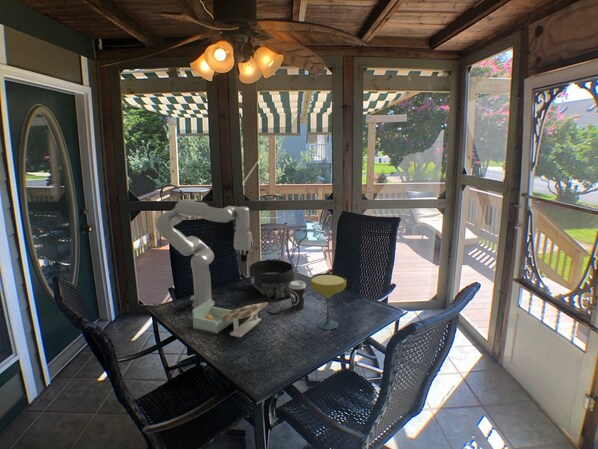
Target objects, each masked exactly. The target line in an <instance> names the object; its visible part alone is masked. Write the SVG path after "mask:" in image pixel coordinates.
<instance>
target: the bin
mask: <svg viewBox="0 0 598 449" xmlns="http://www.w3.org/2000/svg"><path fill="white" fill-rule="evenodd" d="M212 300H213V299H210V300H208V301H206V302H205V303H203V304H201V305H200V306H198V307H196V308H193V309H192V310H191V311H192V324H193V329H196V330H201V331H204V332H208V333H212V334H219V333H220V332H222V331H223V330H224V329H226V328H227V327H229V326H230V325H231V324H233V320H230V321H225V322H222V315H227V314H229V312H228V311H231V310H232V309H228V308H227V309H226V308H222V307H217V306H214V305H213V306H212ZM207 315H212V317H213V320H207V319H205V317H206V316H207Z"/></svg>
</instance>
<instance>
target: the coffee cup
mask: <svg viewBox="0 0 598 449" xmlns="http://www.w3.org/2000/svg"><path fill="white" fill-rule="evenodd" d="M306 287H307V284H306V283H305V281H303V280H294V281H292V282H291V283H290V285H289V288H290V294H291V296H290V300H291V301H290V302H291V309H292V310H293V311H302V310H303V309H304V303H305V293H306V292H305V291H306Z"/></svg>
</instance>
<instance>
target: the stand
mask: <svg viewBox="0 0 598 449" xmlns="http://www.w3.org/2000/svg"><path fill="white" fill-rule="evenodd" d="M252 305H254V304H252ZM261 321H262V318H261V317H260V318H259V317H258V312H257V313H256V314H255V315H253V316H252V317H248V319H246V320H245V321H244V322H243V323H241V324H240V323H239V319H238V318H233V323H232V324H233V330H232V331H231V332H229V335H230V336H233V337H237V338H242V337H243V336H244V335H246V333H248V332H249V331H251V330H252V329H253V328H254V327H255V326H256V325H258V324H259V323H260V322H261ZM239 324H240V325H239Z"/></svg>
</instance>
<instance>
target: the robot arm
mask: <svg viewBox="0 0 598 449" xmlns="http://www.w3.org/2000/svg"><path fill="white" fill-rule="evenodd" d="M188 217H191V218H198V219H199V218H200V219H204V220H208V221H211V222H217V223H229V222H231V221H232V220H235V226H234V230H236V231H234V236H233V249H234V250H235V251H237V252H239V255H240V260H241V263H245V262H247V261H248V254H249V253H252V252H253V251H254V250H253V248H254V241H253V235H252V231H251V223H250V220H251V219H250V208H249V207H248V206H233V205H227V206H226V207H223V208H220V207H219V208H218V207H213V206H209V205H208V204H207V202H206V203H205V202H200V201H195V200H194V199H191V198H184V199H181V200H179V201H177V203H175V206H174V208H173V209H171V210H169V211H166V212H163V213H161V214H160V215H159V216H158V217H157V220H156V224H155V225H156V226H155V227H156V230H157V232H158V234H159V236H160V237H162V238H163V239H165V241H167V243H169V244H170V245H171V246H172V247H174V249H175V250H176V251H178V252H179V253H180V254H181V255H182V256H185V257H186V256H187V257H188V256H191V255H193V256H191V259H190V267H191V272H192V280H193V282H192V284H193V295H190V298H189V301H192V304H191V307H192V308H193V309H194V308H196V307H198V306H200V305H201V304H203V303H205V302H206V301H208V300H210V299H212V283H211V273H210V269H209V265H210V264H212V262H213V261H214V259H215V254H214V252H213V250H212V249H211V248H210V247H209V246H208V245H207V244H205V243H204V241H203V240H201V239H200V238H198V237H197V236H195V235H190V236H186V235H184V233H182V232H181V231H180V230H179V229H176V228H175V227H174V226H176V225H178V224H180V223H181V222H182V221H184V220H185V219H186V218H188ZM214 305H215V300H214V299H212V306H213V307H214Z"/></svg>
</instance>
